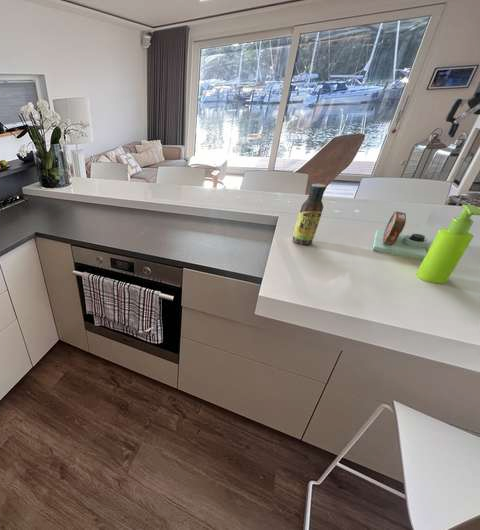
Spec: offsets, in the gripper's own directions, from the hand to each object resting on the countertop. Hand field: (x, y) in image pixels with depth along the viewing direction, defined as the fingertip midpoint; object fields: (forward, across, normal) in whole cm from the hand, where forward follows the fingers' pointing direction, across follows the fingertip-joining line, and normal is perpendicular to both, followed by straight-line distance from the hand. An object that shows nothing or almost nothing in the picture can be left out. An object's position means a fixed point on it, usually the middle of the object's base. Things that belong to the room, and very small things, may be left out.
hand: (471, 137), depth 85 cm
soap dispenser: (+30, 0, +37) cm, 48 cm away
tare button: (+27, +4, +18) cm, 33 cm away
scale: (+30, +7, +18) cm, 36 cm away
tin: (+29, +10, +18) cm, 35 cm away
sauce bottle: (+30, +32, +30) cm, 53 cm away
